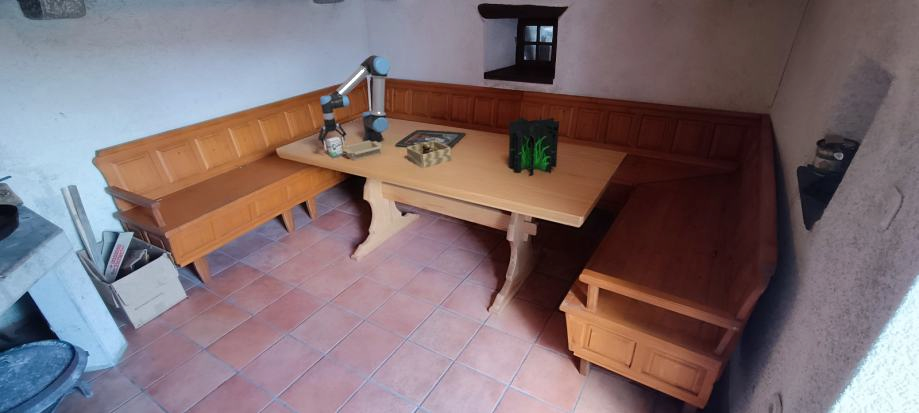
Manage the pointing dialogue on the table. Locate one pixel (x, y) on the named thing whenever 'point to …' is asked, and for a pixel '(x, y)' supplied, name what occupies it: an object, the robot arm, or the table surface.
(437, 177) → the table surface
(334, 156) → the mat
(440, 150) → the box
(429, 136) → the religious icon
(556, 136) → the decorative plant
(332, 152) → the ink box
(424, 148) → the bear figurine
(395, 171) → the table surface
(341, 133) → the robot arm
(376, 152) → the carton
